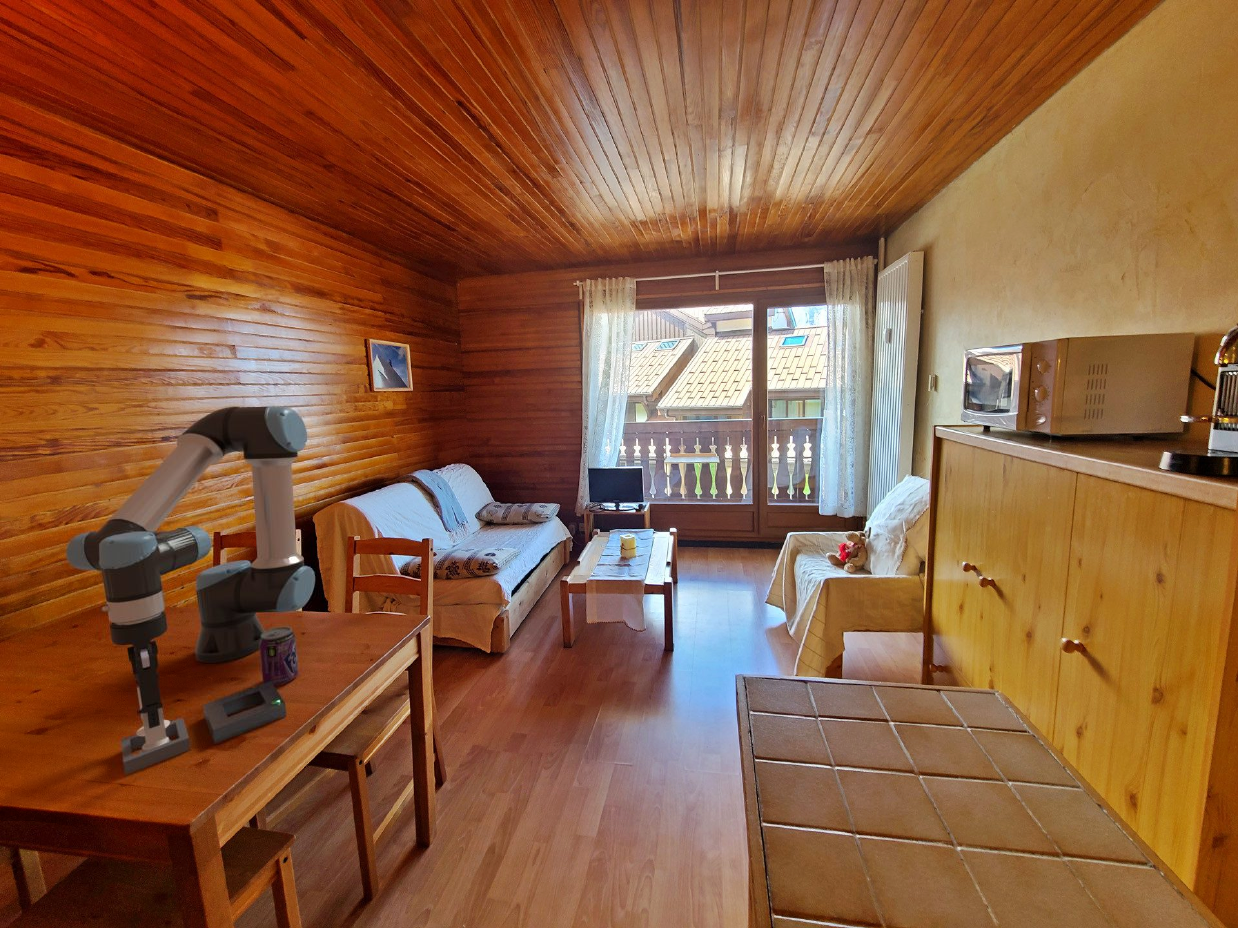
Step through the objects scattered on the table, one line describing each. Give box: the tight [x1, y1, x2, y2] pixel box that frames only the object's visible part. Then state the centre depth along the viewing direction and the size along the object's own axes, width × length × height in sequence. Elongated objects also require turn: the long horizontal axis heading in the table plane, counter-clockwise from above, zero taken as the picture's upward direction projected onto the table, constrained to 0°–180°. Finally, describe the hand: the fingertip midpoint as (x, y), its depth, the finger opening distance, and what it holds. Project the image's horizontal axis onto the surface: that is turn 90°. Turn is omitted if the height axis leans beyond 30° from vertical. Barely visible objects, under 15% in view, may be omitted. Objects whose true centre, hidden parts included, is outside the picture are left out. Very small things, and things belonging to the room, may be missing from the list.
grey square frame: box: [120, 717, 191, 776], centre depth 96 cm, size 9×9×2 cm
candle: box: [135, 698, 173, 753], centre depth 96 cm, size 5×5×12 cm
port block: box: [202, 681, 287, 745], centre depth 106 cm, size 12×12×3 cm
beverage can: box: [259, 626, 300, 686], centre depth 120 cm, size 7×7×12 cm
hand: (153, 727), depth 96 cm, fingers open, 10 cm apart
